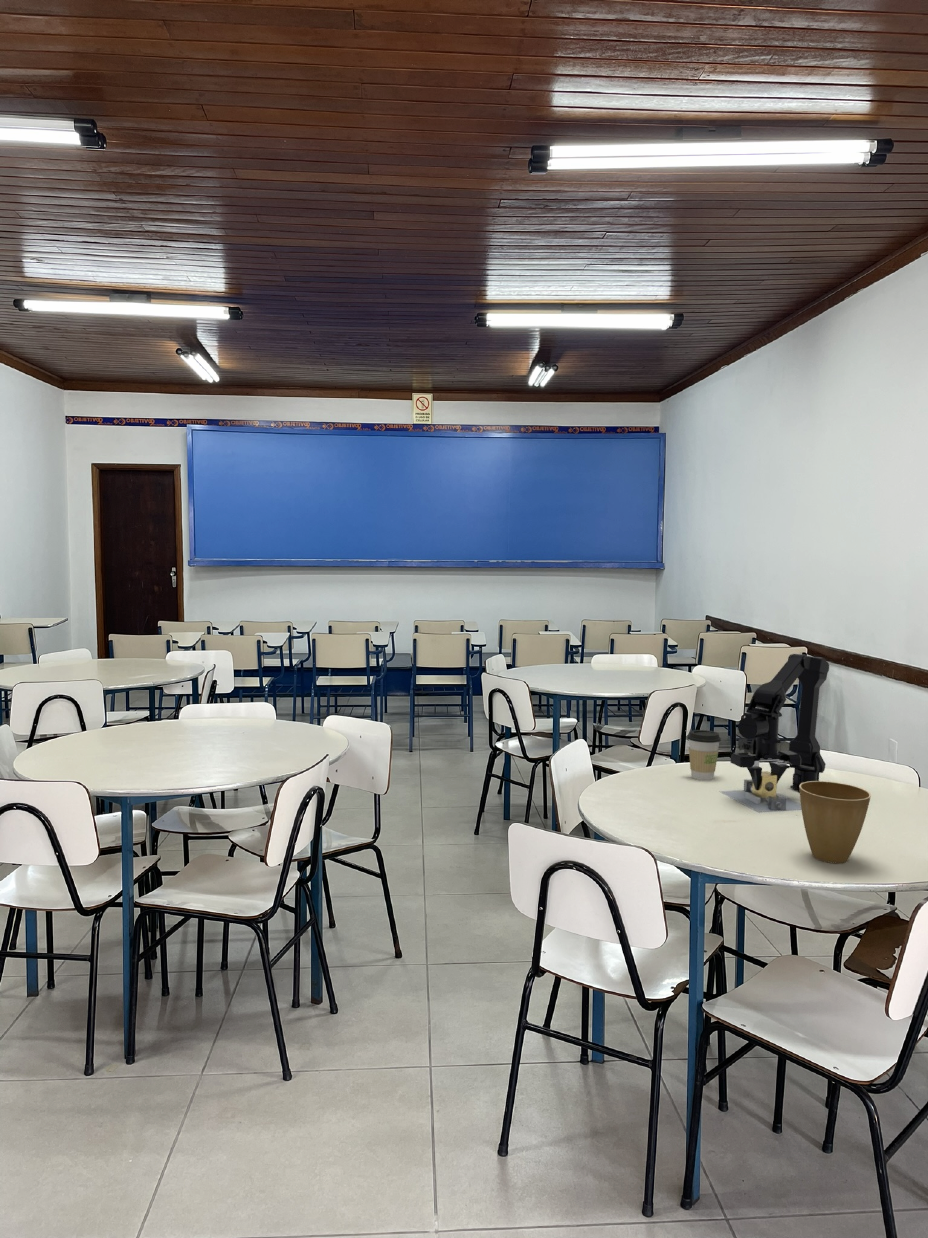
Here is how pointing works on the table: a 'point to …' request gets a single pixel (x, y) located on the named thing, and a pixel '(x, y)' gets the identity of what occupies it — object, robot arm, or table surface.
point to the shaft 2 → (776, 803)
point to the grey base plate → (759, 801)
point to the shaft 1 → (748, 786)
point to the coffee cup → (703, 753)
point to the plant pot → (833, 818)
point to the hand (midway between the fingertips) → (764, 789)
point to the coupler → (766, 785)
